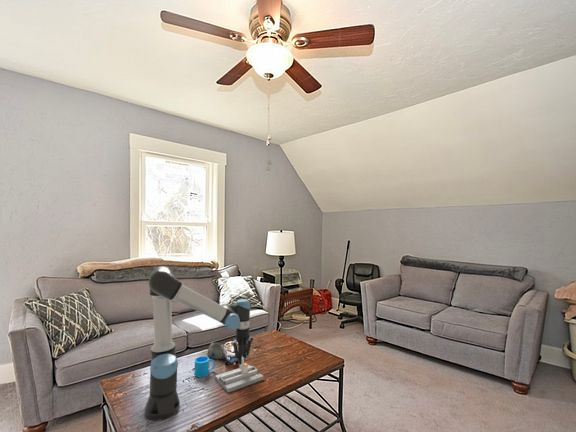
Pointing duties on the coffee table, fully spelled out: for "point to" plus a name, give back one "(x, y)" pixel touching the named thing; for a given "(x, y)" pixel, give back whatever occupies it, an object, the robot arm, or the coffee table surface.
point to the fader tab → (245, 368)
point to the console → (238, 378)
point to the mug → (202, 366)
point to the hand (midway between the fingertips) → (241, 369)
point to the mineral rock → (216, 351)
